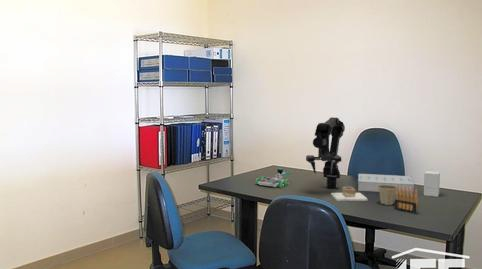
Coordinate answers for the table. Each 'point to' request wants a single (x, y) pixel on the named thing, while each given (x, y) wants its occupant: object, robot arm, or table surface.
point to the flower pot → (387, 194)
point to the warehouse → (383, 182)
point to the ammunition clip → (406, 200)
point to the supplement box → (431, 183)
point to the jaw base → (342, 198)
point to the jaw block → (348, 191)
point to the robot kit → (274, 180)
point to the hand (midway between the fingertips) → (323, 173)
